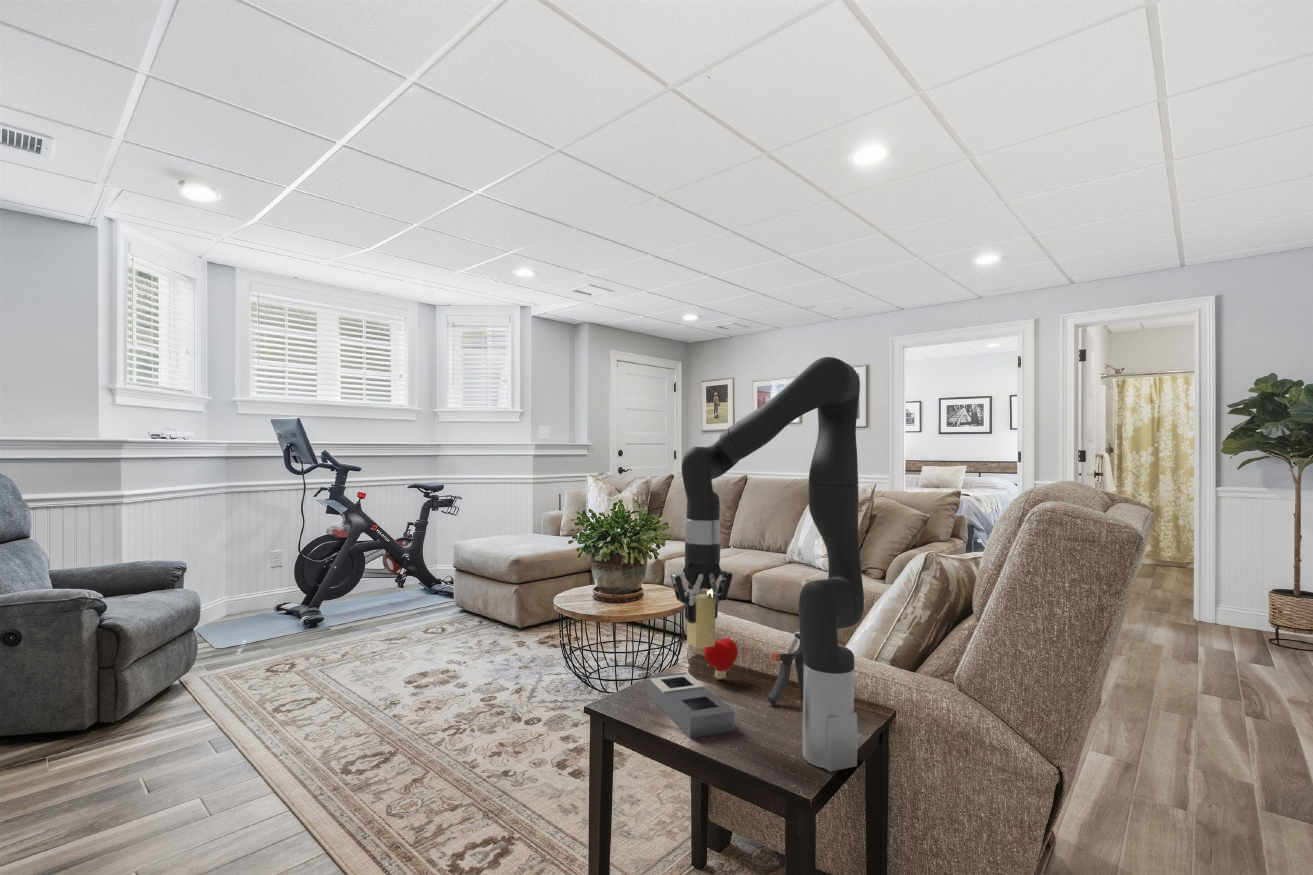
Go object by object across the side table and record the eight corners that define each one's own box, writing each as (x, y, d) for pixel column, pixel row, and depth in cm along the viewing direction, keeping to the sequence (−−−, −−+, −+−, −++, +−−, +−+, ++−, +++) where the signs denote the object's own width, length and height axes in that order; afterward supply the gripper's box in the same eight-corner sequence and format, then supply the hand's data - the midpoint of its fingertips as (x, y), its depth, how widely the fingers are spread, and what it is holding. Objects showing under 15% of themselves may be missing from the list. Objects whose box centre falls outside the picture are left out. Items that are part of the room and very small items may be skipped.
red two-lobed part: (712, 687, 150) (713, 646, 150) (697, 678, 156) (698, 638, 157) (743, 681, 155) (744, 641, 155) (727, 672, 161) (728, 633, 161)
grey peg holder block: (734, 730, 126) (734, 709, 126) (690, 738, 123) (690, 716, 123) (685, 689, 149) (685, 671, 149) (646, 694, 145) (647, 675, 145)
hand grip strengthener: (765, 704, 141) (766, 637, 141) (804, 693, 147) (805, 630, 148) (772, 707, 139) (773, 640, 139) (811, 697, 145) (812, 632, 146)
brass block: (714, 646, 129) (715, 598, 130) (695, 648, 128) (696, 599, 128) (705, 640, 133) (706, 593, 134) (686, 642, 132) (687, 594, 132)
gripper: (679, 543, 125) (677, 629, 125) (740, 541, 130) (739, 623, 130) (664, 539, 132) (663, 619, 131) (723, 537, 137) (722, 614, 137)
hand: (701, 621), depth 131 cm, fingers closed on brass block, 4 cm apart
